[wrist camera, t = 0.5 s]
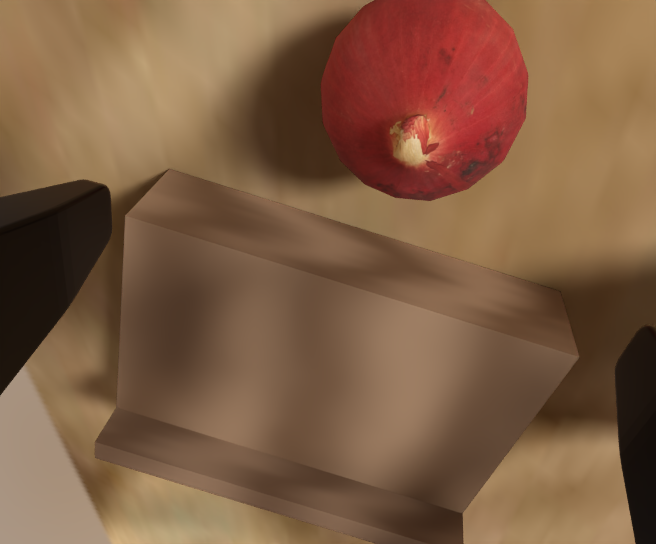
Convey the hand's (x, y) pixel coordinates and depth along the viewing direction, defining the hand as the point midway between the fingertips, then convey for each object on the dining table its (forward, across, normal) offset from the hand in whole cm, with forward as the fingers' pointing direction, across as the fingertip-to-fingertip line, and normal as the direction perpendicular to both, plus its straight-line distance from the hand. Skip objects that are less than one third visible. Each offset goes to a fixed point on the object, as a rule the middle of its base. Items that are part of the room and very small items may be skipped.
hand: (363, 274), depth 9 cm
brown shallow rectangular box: (+12, +1, +12) cm, 18 cm away
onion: (+13, 0, 0) cm, 13 cm away
